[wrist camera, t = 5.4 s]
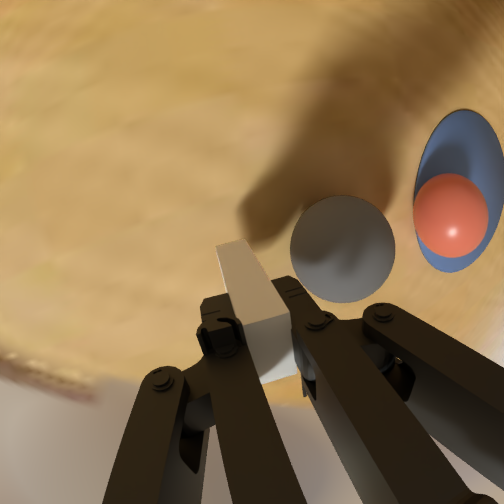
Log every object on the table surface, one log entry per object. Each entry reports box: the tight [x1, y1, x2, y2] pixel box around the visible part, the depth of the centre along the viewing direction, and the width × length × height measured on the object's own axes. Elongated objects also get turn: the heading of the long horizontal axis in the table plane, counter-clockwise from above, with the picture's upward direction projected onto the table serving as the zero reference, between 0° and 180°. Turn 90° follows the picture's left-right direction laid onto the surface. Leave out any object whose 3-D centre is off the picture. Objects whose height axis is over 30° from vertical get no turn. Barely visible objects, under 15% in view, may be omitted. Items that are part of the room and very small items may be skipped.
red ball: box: [413, 173, 488, 258], centre depth 16 cm, size 6×6×6 cm
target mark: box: [414, 110, 504, 273], centre depth 19 cm, size 14×14×1 cm
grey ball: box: [290, 195, 395, 303], centre depth 15 cm, size 6×6×6 cm
